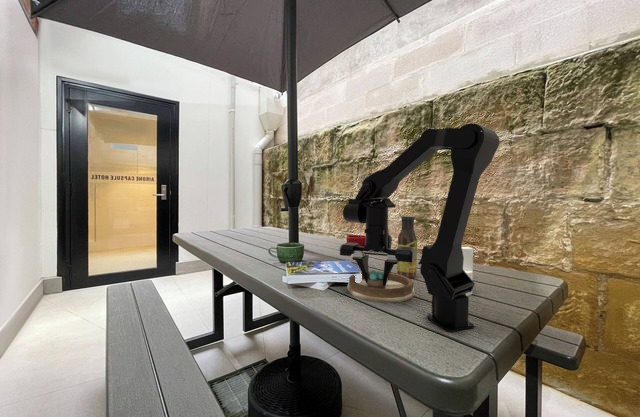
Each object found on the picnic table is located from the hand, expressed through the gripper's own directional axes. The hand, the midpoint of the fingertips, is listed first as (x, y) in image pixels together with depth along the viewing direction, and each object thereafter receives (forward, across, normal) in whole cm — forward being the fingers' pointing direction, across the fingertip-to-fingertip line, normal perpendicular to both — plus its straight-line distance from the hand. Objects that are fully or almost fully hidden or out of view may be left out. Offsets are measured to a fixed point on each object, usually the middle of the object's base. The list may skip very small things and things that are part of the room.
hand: (376, 284), depth 71 cm
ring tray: (+3, 0, -4) cm, 5 cm away
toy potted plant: (+1, 0, 0) cm, 1 cm away
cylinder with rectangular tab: (+3, -18, -14) cm, 24 cm away
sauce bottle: (+3, -4, -23) cm, 24 cm away
